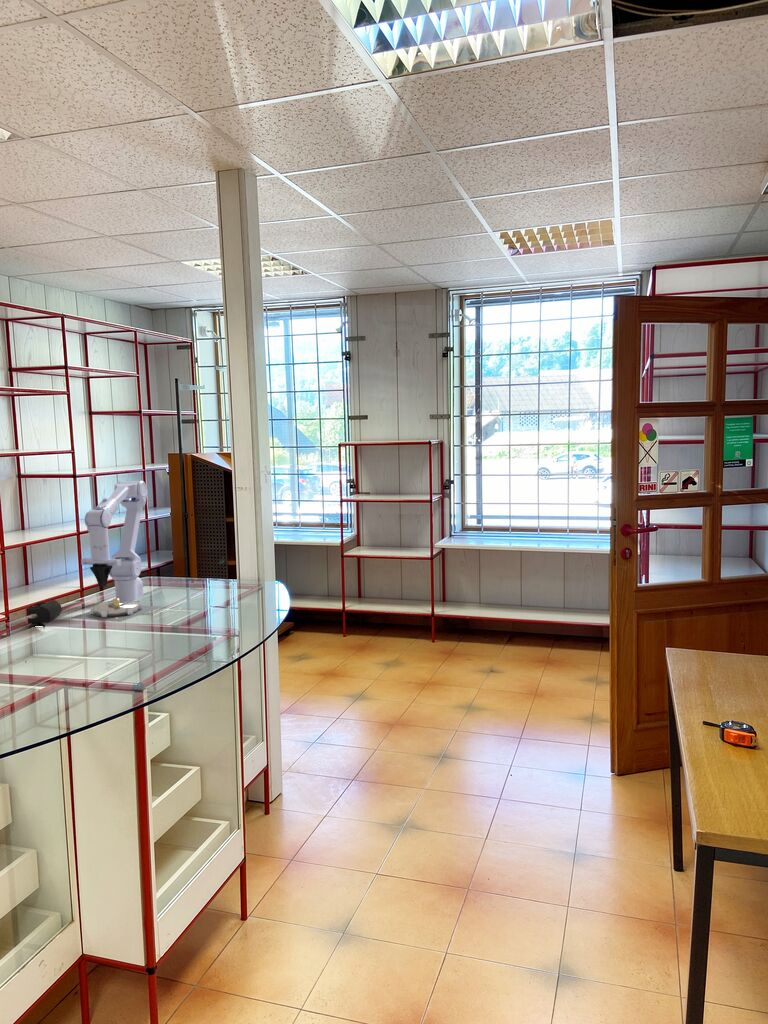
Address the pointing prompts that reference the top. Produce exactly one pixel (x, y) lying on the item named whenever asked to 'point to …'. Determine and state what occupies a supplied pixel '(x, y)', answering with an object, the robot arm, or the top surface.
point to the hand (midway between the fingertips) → (102, 586)
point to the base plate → (115, 618)
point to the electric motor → (44, 612)
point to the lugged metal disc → (116, 608)
